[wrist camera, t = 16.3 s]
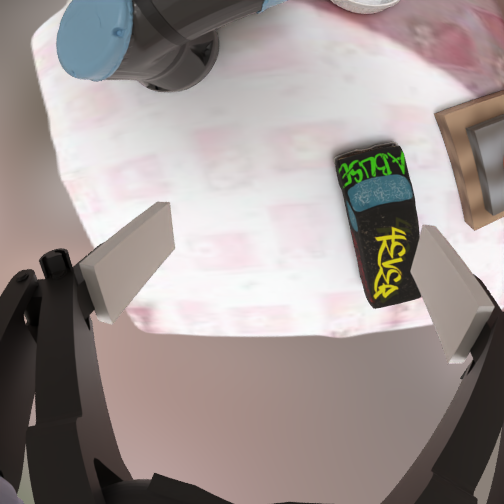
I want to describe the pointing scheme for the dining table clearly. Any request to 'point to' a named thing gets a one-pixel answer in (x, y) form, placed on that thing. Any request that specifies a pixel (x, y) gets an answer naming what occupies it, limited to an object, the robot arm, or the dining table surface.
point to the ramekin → (365, 5)
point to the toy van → (381, 221)
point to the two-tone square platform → (477, 156)
